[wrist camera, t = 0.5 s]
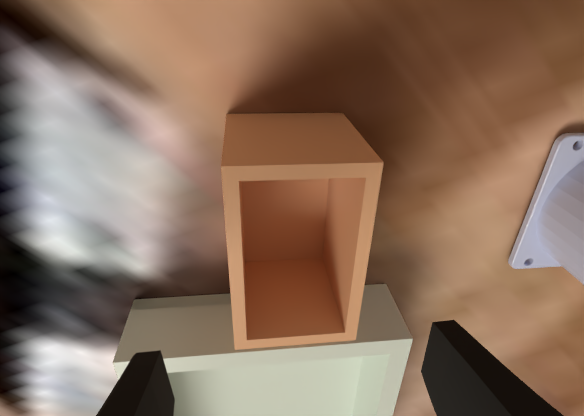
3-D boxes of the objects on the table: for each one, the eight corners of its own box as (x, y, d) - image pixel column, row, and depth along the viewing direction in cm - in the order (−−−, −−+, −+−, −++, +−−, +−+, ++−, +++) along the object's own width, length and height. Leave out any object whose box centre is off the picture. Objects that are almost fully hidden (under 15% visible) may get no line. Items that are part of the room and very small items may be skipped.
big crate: (385, 283, 22) (413, 338, 18) (355, 439, 30) (370, 497, 26) (134, 299, 20) (112, 362, 17) (173, 459, 28) (164, 524, 25)
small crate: (342, 112, 17) (383, 162, 12) (329, 259, 21) (355, 340, 16) (226, 113, 16) (221, 166, 11) (235, 264, 20) (234, 349, 15)
